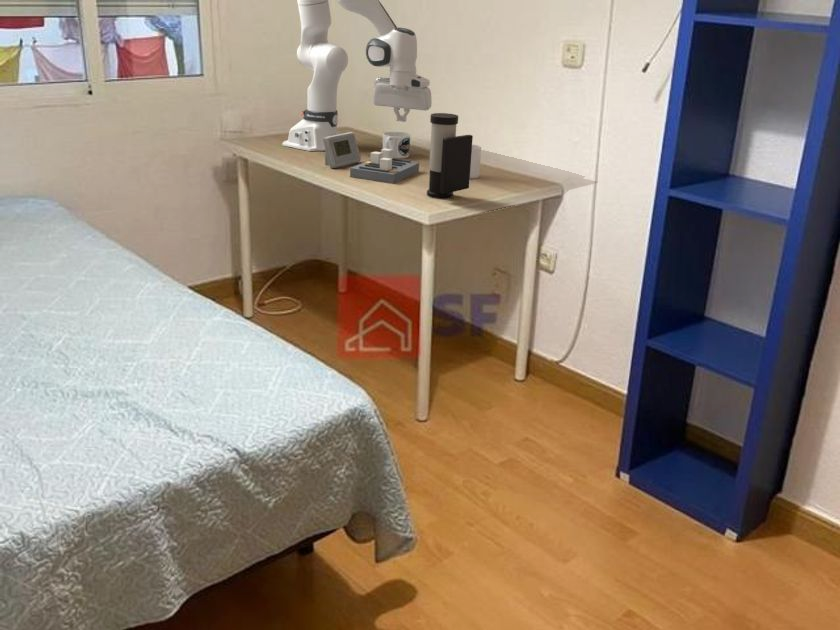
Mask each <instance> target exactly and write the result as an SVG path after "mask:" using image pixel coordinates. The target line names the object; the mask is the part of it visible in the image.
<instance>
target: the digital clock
mask: <svg viewBox="0 0 840 630" xmlns="http://www.w3.org/2000/svg"><path fill="white" fill-rule="evenodd" d="M323 143H324V147H325V150H324V151H325V153H324V162H325V163H324V165H325V166H329V168H331V169H336V168H343V167H347V166H352V165H355V164H356V163H360V162H361V155H360V149H359V146H358V143H357V139H356V135H355V133H354V132H353V131H350V132H349V131H348V132H342V133H338V134H336V135H331V136H328V137H325V138H324V139H323Z"/></svg>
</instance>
